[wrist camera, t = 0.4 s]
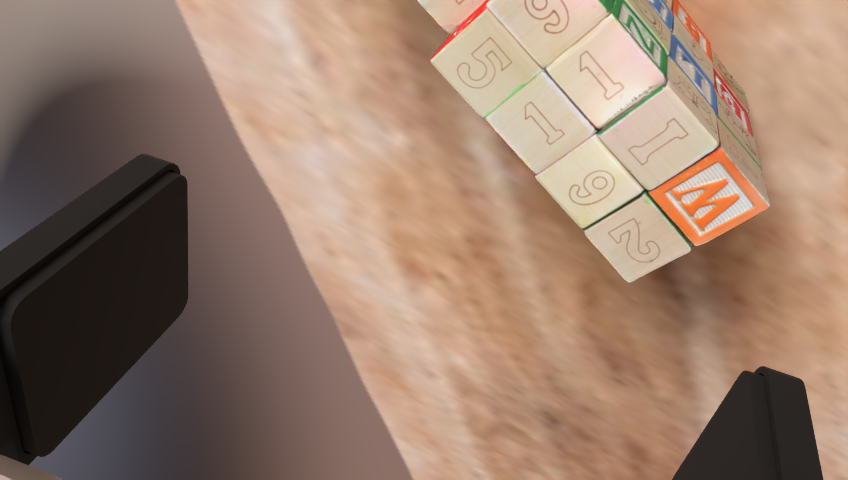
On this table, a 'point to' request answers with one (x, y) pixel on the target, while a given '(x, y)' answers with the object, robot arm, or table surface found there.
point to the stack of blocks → (611, 117)
